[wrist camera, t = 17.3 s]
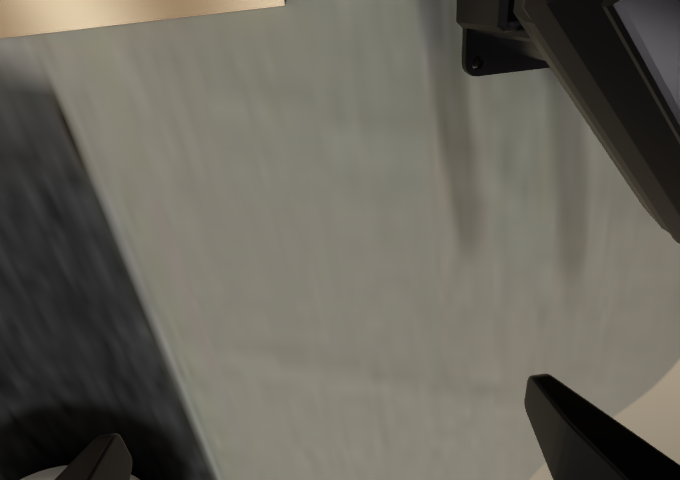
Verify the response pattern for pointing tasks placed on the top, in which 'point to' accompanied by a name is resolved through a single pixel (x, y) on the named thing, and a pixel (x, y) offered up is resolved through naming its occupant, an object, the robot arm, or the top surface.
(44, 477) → the spoon rest
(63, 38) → the top surface
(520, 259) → the top surface
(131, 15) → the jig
